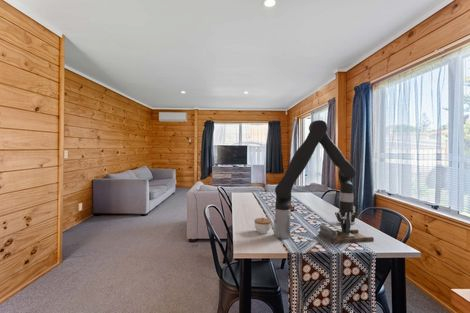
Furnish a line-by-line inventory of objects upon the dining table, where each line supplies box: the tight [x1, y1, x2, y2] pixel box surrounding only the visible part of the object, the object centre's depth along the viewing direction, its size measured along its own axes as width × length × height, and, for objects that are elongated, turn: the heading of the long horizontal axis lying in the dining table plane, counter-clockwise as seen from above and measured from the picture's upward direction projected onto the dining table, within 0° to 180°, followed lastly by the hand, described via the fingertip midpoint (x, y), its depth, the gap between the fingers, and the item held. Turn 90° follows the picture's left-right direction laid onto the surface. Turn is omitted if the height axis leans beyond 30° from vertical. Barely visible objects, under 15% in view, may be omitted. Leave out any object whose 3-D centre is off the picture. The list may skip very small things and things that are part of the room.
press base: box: [318, 224, 375, 244], centre depth 140 cm, size 26×14×8 cm, turn 100°
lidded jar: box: [254, 217, 272, 235], centre depth 152 cm, size 11×11×9 cm
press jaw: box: [336, 218, 355, 238], centre depth 140 cm, size 4×11×11 cm, turn 10°
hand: (345, 229), depth 140 cm, fingers closed on press jaw, 2 cm apart
